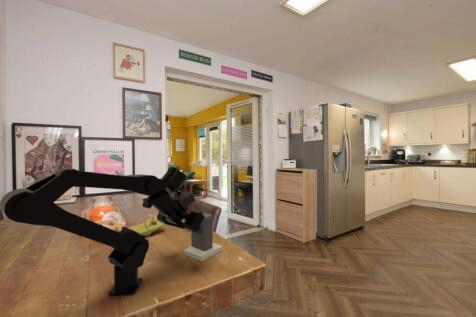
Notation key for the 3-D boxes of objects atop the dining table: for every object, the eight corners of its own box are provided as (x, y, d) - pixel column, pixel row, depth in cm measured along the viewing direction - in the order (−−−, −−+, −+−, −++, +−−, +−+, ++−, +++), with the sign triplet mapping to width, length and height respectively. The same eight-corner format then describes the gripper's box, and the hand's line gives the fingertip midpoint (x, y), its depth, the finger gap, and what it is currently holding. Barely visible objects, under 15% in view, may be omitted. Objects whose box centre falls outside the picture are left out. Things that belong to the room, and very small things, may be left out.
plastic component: (123, 238, 86) (114, 223, 92) (122, 252, 89) (113, 236, 95) (168, 223, 101) (158, 211, 107) (165, 235, 104) (156, 223, 109)
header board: (201, 261, 72) (201, 249, 72) (183, 253, 78) (183, 242, 78) (223, 249, 81) (222, 239, 81) (205, 243, 86) (205, 233, 86)
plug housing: (204, 251, 76) (204, 217, 76) (191, 246, 80) (191, 214, 80) (212, 247, 79) (212, 215, 79) (199, 243, 83) (199, 212, 83)
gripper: (200, 186, 66) (223, 215, 75) (164, 182, 78) (188, 207, 86) (179, 217, 60) (207, 244, 69) (143, 208, 71) (171, 232, 80)
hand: (193, 230), depth 76 cm, fingers open, 9 cm apart
